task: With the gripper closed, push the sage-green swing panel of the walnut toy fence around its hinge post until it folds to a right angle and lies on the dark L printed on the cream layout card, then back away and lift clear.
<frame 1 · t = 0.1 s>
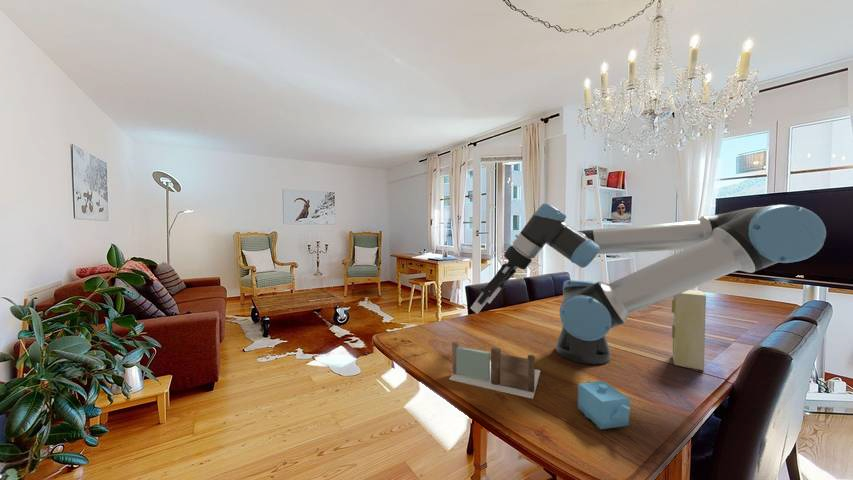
hand: (480, 305, 98), 15 cm above the table, tool tilted 35°, fingers open, 13 cm apart
swing panel: (470, 360, 83), point 5 cm above the table, hinge at 0.0°
layout card: (496, 375, 84), on the table
toy refrigerator: (685, 363, 91), on the table
teapot: (605, 424, 64), on the table
fixed fence: (495, 384, 80), resting on layout card
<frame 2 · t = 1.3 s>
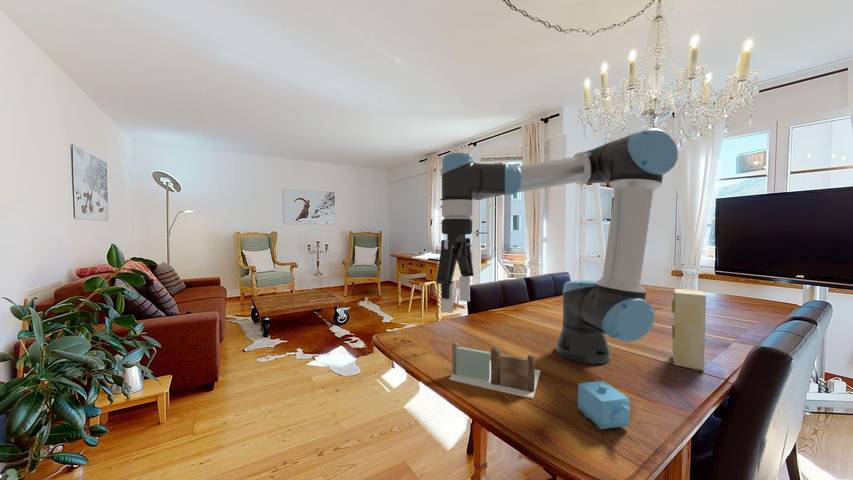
hand: (456, 306, 78), 20 cm above the table, tool pointing down, fingers open, 11 cm apart
nothing on the table moved.
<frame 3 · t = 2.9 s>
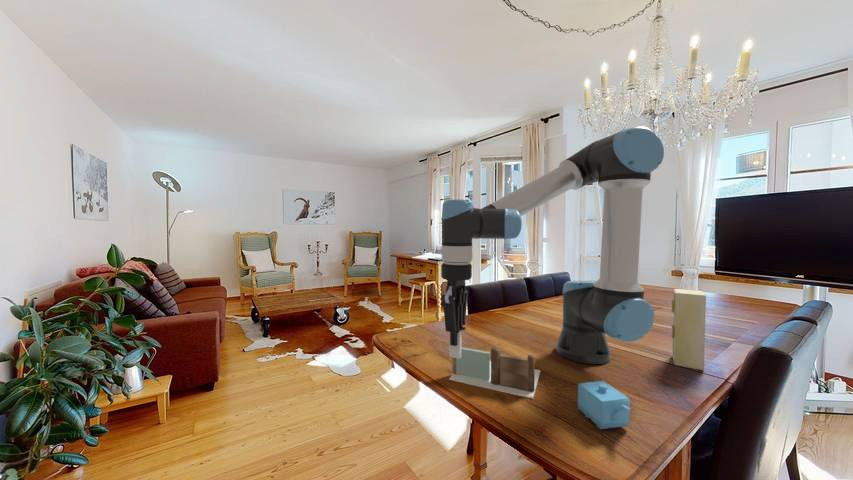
hand: (455, 356, 78), 8 cm above the table, tool pointing down, fingers closed
nothing on the table moved.
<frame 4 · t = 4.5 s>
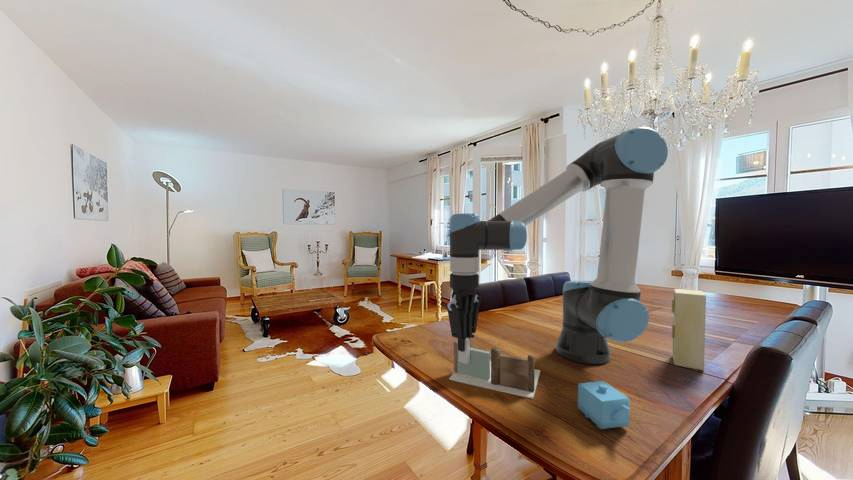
hand: (464, 361, 82), 5 cm above the table, tool pointing down, fingers closed
swing panel: (471, 359, 83), point 5 cm above the table, hinge at -4.9°, touching gripper
everything else where it was.
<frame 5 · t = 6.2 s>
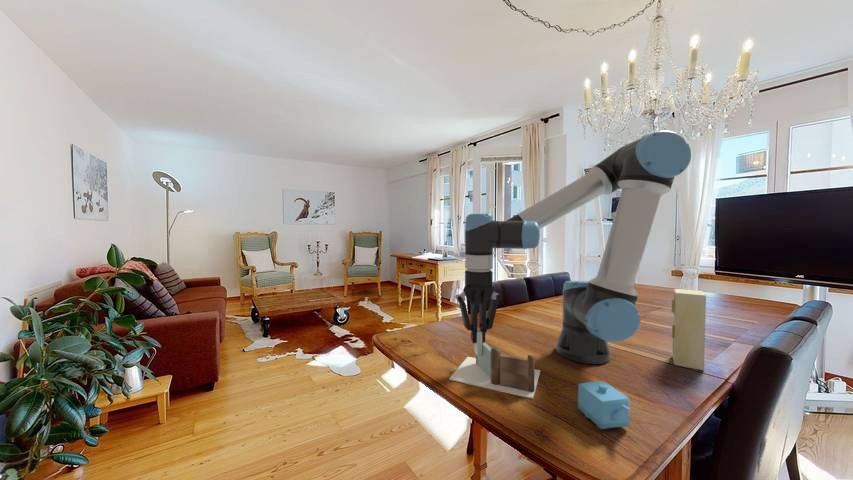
hand: (478, 353, 87), 5 cm above the table, tool pointing down, fingers closed
swing panel: (484, 355, 86), point 5 cm above the table, hinge at -50.4°, touching gripper
everything else where it was.
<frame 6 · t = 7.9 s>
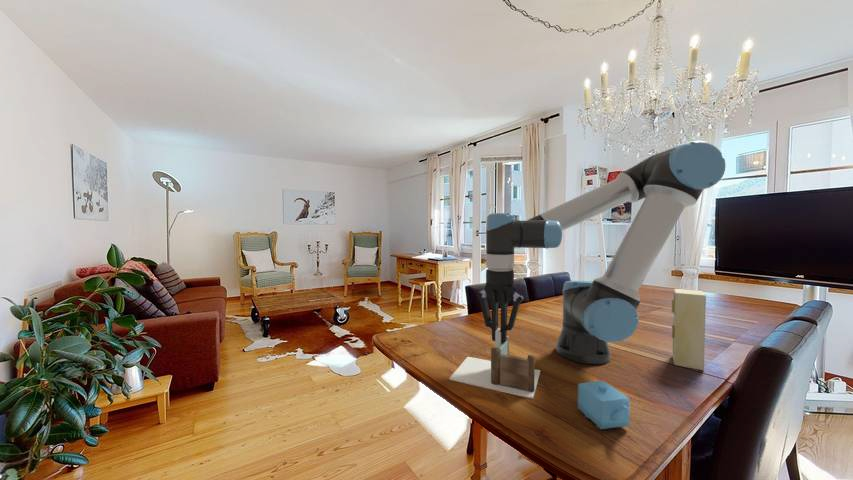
hand: (499, 352, 88), 5 cm above the table, tool pointing down, fingers closed
swing panel: (502, 355, 86), point 5 cm above the table, hinge at -91.2°, touching gripper
everything else where it was.
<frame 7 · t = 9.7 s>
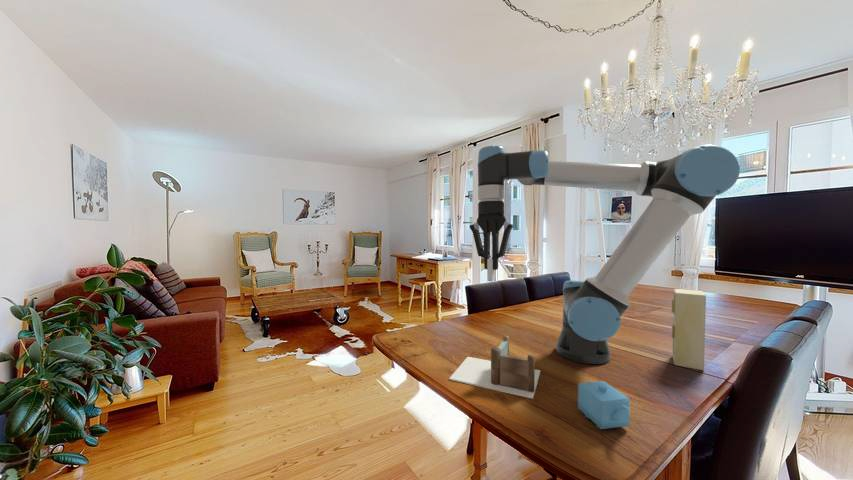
hand: (491, 280, 93), 24 cm above the table, tool pointing down, fingers closed
swing panel: (502, 355, 86), point 5 cm above the table, hinge at -91.3°
everything else where it was.
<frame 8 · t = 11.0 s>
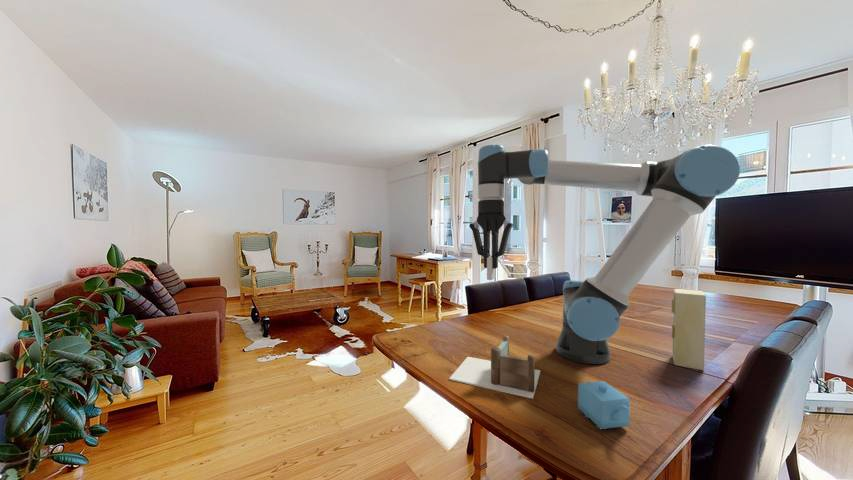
hand: (490, 279, 93), 24 cm above the table, tool pointing down, fingers closed
nothing on the table moved.
at the end: swing panel at -91° (first picture: +0°) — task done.
